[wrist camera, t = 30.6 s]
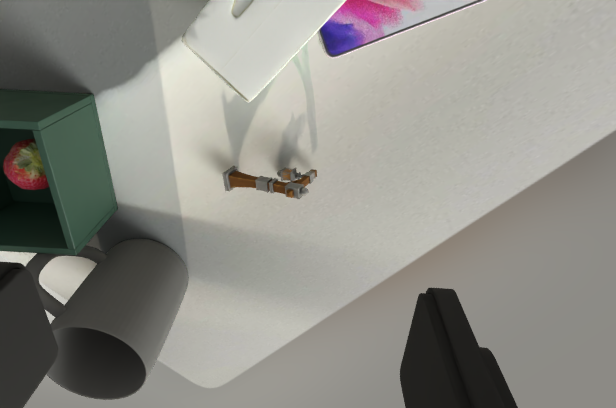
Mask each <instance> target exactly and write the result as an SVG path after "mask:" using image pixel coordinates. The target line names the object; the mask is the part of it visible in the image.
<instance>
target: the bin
mask: <svg viewBox="0 0 616 408" xmlns="http://www.w3.org/2000/svg"><path fill="white" fill-rule="evenodd" d="M28 139H35V141H36V144H37V148H38V151H39V154H40V158H41V161H42V164H43V168H44V171H45V174H46V177H47V181H48V184H49V187H48V188H46V189H37V190H28V189H23V188H20V187H19V186H17V185H16V184H14V183H13V182H12V181H11V180H10V179H8V177H7V175H6V174H5V173H4V167H3V165H4V160H5V157H6V156H7V155H8V154H9V152H10V150H11V148H12V147H13V145H15V144H16V143H17V142H20V141H23V140H28ZM117 209H118V207H117V203H116V198H115V193H114V189H113V184H112V179H111V175H110V170H109V165H108V161H107V156H106V151H105V147H104V142H103V137H102V133H101V128H100V123H99V118H98V114H97V109H96V104H95V100H94V95H93V94H83V93H65V92H47V91H29V90H11V89H0V251H11V252H29V253H47V254H65V255H77V254H78V253H79V252H80V251H81V250H82V248H83V247H84V246H85V245H86V244H87V243H88V242H89V241H90V239H91V238H92V237H93V236H94V235H95V234H96V233H97V232H98V230H99V229H100V228H101V227H102V226H103V225H104V224H105V223H106V221H107V220H108V219H109V218H110V217H111V216H112V215H113V214H114V212H115V211H116V210H117Z"/></svg>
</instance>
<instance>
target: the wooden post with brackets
mask: <svg viewBox="0 0 616 408" xmlns="http://www.w3.org/2000/svg"><path fill="white" fill-rule="evenodd" d="M277 174H278V176H279V177H281V181H283V180H290V181H291V182H287V183H285V182H280V181H278V179H276V178H274V179H273V180H272V178H267V177H263V176H260V177H254V176H250V175H247V174H244V173H241V172H238V169H237V167H235V166H233V167H231V168H230V169H228V170H227V171H225V172H224V173H222V175H223V180H224V186H225V191H231V190H232V189H233V188H235V187H252V188H256V189H257V190H262V191H266V192H269V191H270V193H274V192H278V193H283V194H286V196H287V197H291V198H292V197H294V198H297V199H300V198H301V197H302V196H307V195H308V189H307V188H304V187H305V186H306V185H307V184H309V183H311V182H313V181H314V179H315V177H317V171H316V170H310V171H309V172H306V173H305V174H303V175H301V173H300V172H299V173H297V172H296V168H295V169H293V170H291V169H287V168H286V167H285V168H284V169H283V170H280V171H278V173H277ZM300 178H301V179H300ZM296 179H298V180H296Z"/></svg>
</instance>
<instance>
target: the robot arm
mask: <svg viewBox="0 0 616 408" xmlns="http://www.w3.org/2000/svg"><path fill="white" fill-rule="evenodd" d="M57 355H58V345H57V342H56V339H55V337H54V334H53V331H52V328H51V326H50V323H49V320H48V318H47V315H46V312H45V309H44V307H43V304H42V301H41V298H40V296H39V293H38V290H37V287H36V285H35V282H34V279H33V276H32V274H31V272H30V271H29V270H26V268H25V266H24V265H22V264H21V263H12V262H0V408H23V407H24V405H25V404H26V402H27V401H28V400H29V398H30V397H31V395H32V394H33V393H34V391H35V389H36V388H37V387H38V385H39V384H40V383H41V381H42V380H43V378H44V377H45V375H46V374H47V372H48V371H49V370H50V368H51V367H52V365H53V364H54V362H55V360H56V358H57ZM400 381H401V387H402V392H403V397H404V402H405V406H406V408H518V407H517V406H516V403H515V401H514V398H513V396H512V394H511V392H510V390H509V388H508V385H507V383H506V381H505V379H504V377H503V374H502V372H501V370H500V368H499V366H498V364H497V361H496V359H495V357H494V356H493V354H492V352H491V351H490V350H489V349H488V348H482V347H479V346H478V343H477V341H476V339H475V336H474V334H473V332H472V329H471V327H470V325H469V322H468V320H467V318H466V315H465V313H464V311H463V308H462V306H461V304H460V302H459V299H458V297H457V294H456V292H455V291H454V290H453V289H442V288H428V290H427V291H426V294H424V293H423V294H422V293H421V294H419V296H418V300H417V304H416V308H415V312H414V316H413V320H412V324H411V328H410V332H409V336H408V340H407V344H406V348H405V352H404V356H403V360H402V364H401V369H400Z"/></svg>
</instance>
